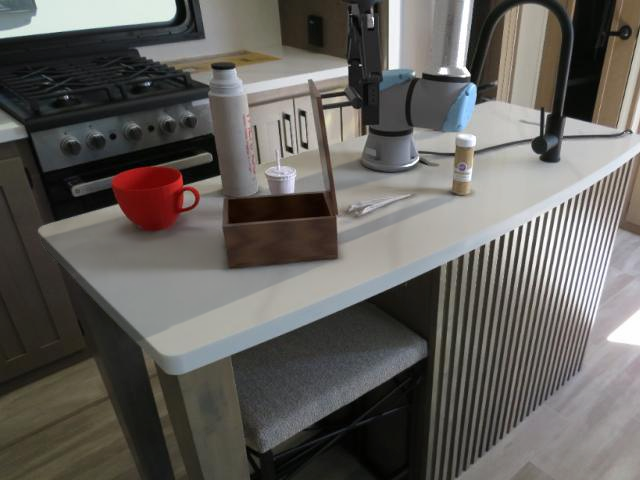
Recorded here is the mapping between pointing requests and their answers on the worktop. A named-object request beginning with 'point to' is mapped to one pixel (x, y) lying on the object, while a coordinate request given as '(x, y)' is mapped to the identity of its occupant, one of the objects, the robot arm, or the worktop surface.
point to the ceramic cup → (152, 196)
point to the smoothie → (280, 178)
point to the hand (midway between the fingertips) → (363, 113)
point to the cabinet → (279, 229)
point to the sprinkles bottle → (463, 163)
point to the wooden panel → (321, 132)
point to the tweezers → (373, 204)
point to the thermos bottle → (232, 131)
